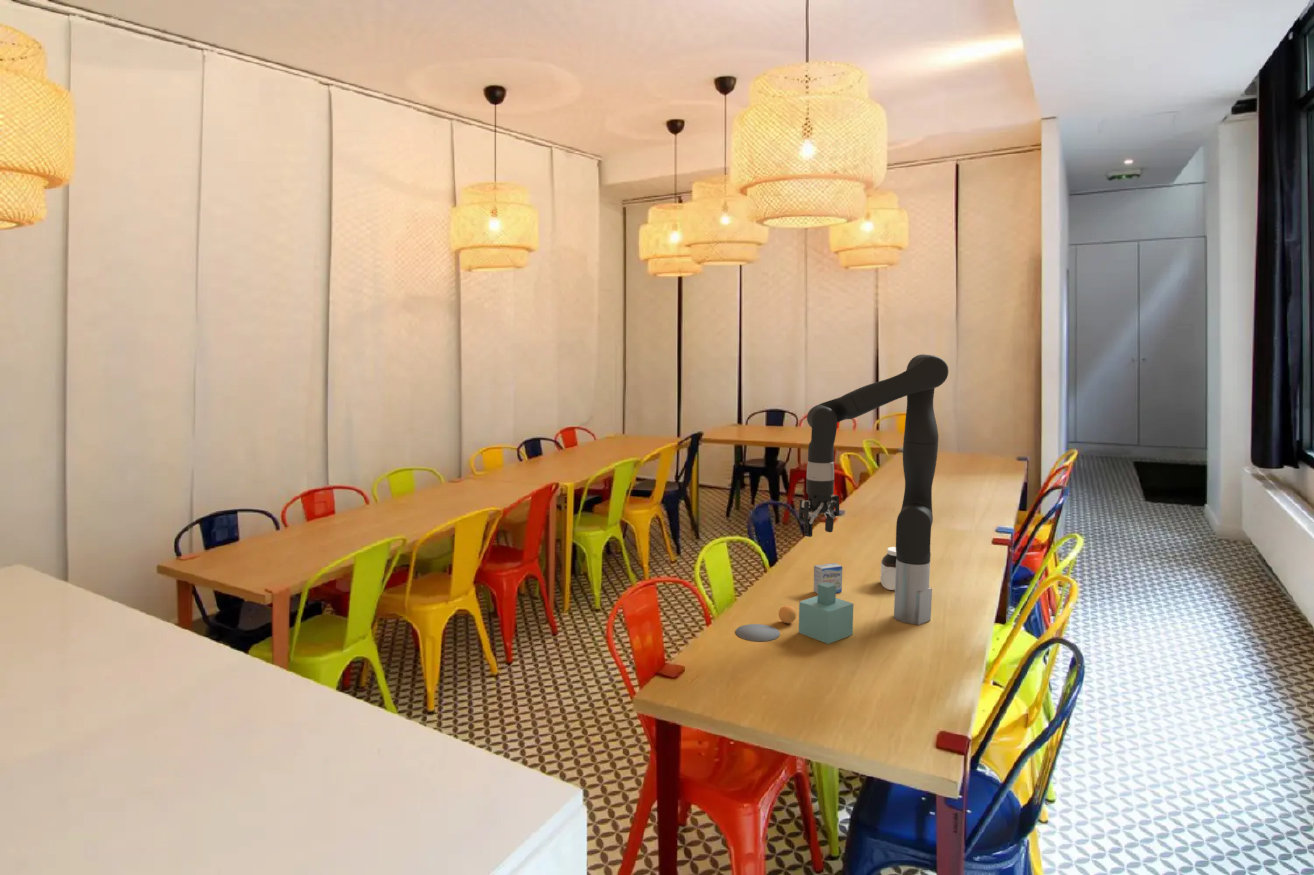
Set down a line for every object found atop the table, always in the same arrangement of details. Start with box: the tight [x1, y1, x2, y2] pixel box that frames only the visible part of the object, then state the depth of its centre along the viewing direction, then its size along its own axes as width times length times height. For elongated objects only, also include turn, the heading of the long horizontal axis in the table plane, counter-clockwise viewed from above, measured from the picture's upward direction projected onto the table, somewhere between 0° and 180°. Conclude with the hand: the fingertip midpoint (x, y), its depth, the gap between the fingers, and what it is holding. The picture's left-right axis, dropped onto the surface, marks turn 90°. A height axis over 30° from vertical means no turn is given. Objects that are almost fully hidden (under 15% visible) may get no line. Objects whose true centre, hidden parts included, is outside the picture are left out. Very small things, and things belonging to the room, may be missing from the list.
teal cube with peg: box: [798, 582, 854, 645], centre depth 212 cm, size 10×10×14 cm
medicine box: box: [813, 562, 843, 594], centre depth 247 cm, size 8×4×9 cm, turn 112°
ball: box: [778, 604, 797, 624], centre depth 221 cm, size 5×5×5 cm
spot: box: [735, 623, 781, 642], centre depth 214 cm, size 12×12×1 cm
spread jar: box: [879, 546, 896, 591], centre depth 253 cm, size 12×11×12 cm
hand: (818, 534), depth 220 cm, fingers open, 8 cm apart
